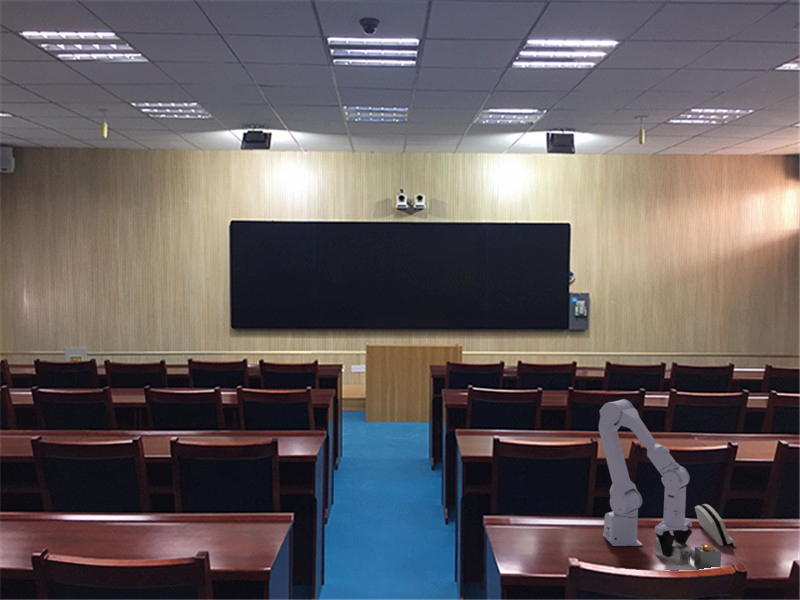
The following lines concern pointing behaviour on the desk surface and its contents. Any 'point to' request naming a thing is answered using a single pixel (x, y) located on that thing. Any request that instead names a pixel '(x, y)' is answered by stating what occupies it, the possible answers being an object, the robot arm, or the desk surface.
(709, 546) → the coupler
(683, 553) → the lock
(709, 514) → the grey black curved block
